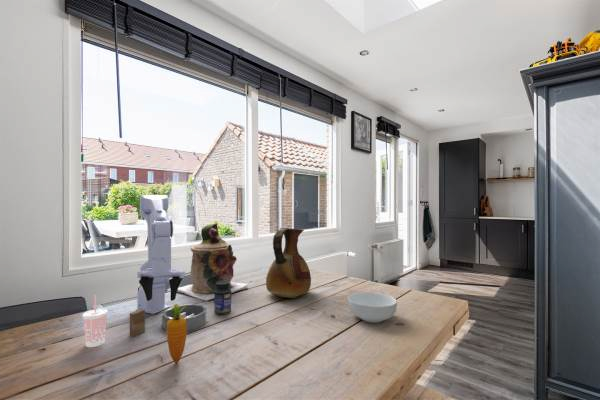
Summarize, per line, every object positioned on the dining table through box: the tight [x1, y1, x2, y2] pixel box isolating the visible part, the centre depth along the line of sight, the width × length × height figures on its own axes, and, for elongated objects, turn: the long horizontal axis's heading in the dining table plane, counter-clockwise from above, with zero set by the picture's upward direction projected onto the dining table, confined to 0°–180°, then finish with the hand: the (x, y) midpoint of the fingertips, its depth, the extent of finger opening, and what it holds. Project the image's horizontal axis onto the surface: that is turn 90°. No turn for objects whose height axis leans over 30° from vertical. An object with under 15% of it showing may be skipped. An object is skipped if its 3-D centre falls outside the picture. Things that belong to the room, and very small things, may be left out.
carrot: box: [166, 303, 187, 364], centre depth 77 cm, size 5×5×15 cm
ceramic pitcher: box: [265, 227, 312, 299], centre depth 133 cm, size 20×20×30 cm
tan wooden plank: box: [128, 309, 146, 338], centre depth 94 cm, size 2×4×7 cm, turn 159°
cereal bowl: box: [347, 291, 398, 324], centre depth 106 cm, size 17×17×7 cm
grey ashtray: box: [161, 303, 208, 332], centre depth 102 cm, size 14×14×4 cm
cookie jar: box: [177, 220, 249, 302], centre depth 140 cm, size 25×25×32 cm
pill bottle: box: [213, 281, 232, 316], centre depth 112 cm, size 6×6×11 cm
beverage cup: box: [82, 294, 109, 348], centre depth 87 cm, size 6×6×14 cm
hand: (161, 299), depth 97 cm, fingers open, 7 cm apart
